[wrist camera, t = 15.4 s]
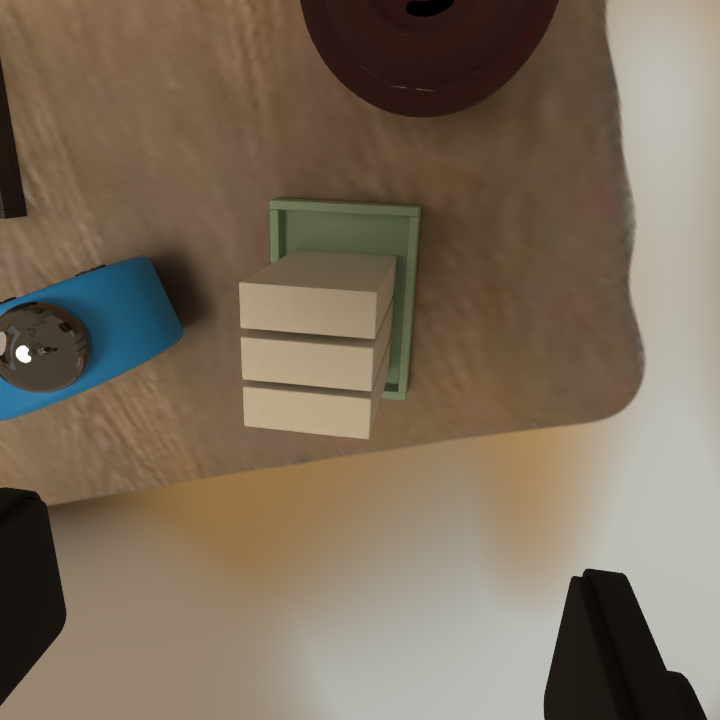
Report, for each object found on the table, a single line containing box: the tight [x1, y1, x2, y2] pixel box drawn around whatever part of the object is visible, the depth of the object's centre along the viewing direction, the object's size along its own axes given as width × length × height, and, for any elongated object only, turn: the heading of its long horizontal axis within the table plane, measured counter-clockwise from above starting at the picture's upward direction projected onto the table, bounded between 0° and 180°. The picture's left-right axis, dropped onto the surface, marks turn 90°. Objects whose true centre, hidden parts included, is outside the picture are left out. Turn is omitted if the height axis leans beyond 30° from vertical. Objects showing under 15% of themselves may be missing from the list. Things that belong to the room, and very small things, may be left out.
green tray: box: [269, 198, 421, 400], centre depth 38 cm, size 13×10×2 cm
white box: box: [239, 250, 397, 339], centre depth 32 cm, size 2×7×11 cm, turn 88°
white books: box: [241, 298, 394, 439], centre depth 34 cm, size 5×7×11 cm
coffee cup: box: [300, 0, 559, 117], centre depth 25 cm, size 10×10×15 cm
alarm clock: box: [0, 256, 183, 421], centre depth 35 cm, size 13×6×15 cm, turn 111°
